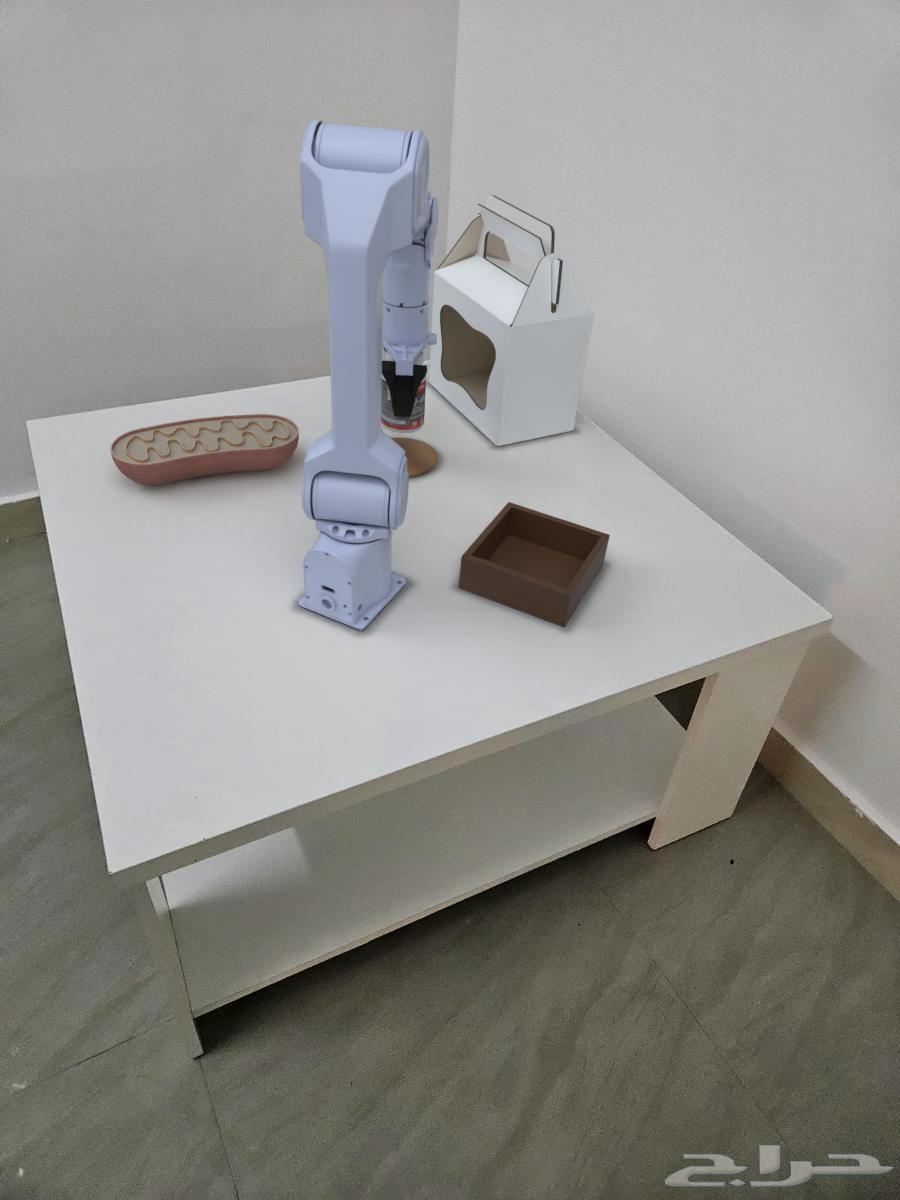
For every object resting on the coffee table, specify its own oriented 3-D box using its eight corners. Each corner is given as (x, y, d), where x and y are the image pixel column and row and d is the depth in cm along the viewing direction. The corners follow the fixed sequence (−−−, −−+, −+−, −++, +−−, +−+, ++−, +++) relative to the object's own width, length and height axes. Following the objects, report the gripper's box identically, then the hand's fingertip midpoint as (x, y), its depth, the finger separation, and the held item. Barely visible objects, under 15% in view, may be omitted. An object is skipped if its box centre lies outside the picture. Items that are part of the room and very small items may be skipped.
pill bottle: (418, 437, 105) (421, 364, 99) (375, 431, 106) (376, 357, 99) (428, 417, 109) (431, 346, 103) (387, 411, 110) (388, 340, 104)
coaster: (415, 486, 106) (415, 482, 105) (349, 464, 109) (349, 460, 109) (450, 453, 113) (450, 450, 112) (387, 433, 116) (387, 430, 116)
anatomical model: (121, 504, 98) (113, 468, 95) (114, 463, 105) (106, 428, 102) (308, 477, 106) (306, 443, 102) (290, 440, 113) (288, 407, 109)
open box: (564, 627, 86) (571, 595, 83) (458, 587, 90) (461, 556, 87) (603, 565, 95) (610, 534, 92) (504, 532, 99) (508, 501, 96)
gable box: (427, 382, 129) (436, 190, 111) (499, 370, 134) (519, 185, 117) (497, 448, 115) (521, 239, 97) (575, 432, 120) (611, 230, 102)
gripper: (441, 324, 92) (435, 432, 100) (436, 279, 103) (431, 380, 111) (378, 321, 91) (377, 430, 100) (380, 277, 102) (379, 378, 111)
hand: (402, 404), depth 106 cm, fingers closed on pill bottle, 5 cm apart
